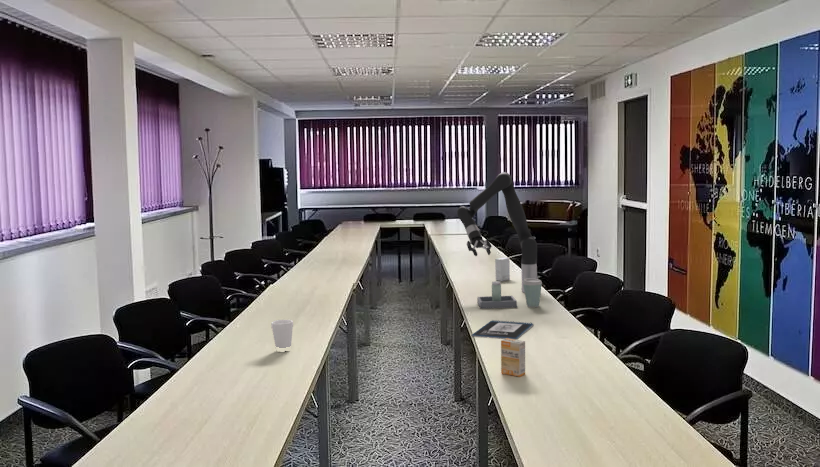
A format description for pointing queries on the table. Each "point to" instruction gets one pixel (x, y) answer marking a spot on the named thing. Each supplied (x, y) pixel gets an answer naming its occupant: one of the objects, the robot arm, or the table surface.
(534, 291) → the disposable coffee cup
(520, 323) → the sketchbook
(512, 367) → the supplement box
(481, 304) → the tray
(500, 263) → the skincare box
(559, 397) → the table surface
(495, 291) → the shaker
